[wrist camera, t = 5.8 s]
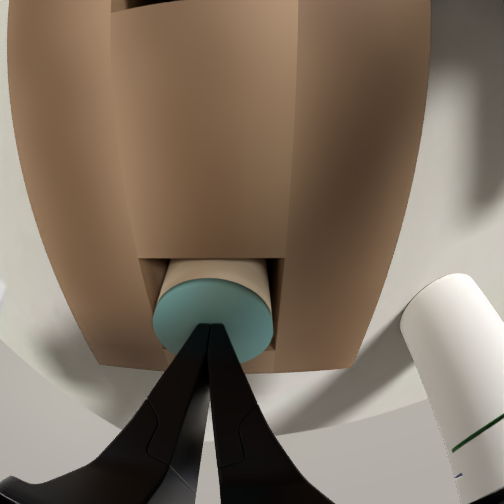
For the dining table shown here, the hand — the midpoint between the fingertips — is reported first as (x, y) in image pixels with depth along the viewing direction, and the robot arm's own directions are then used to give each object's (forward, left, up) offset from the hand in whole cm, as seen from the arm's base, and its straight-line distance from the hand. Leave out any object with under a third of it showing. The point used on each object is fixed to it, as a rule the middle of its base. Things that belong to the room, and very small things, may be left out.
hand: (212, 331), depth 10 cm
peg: (0, 0, -6) cm, 6 cm away
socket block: (0, -6, -7) cm, 9 cm away
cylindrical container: (-16, +7, -7) cm, 19 cm away
